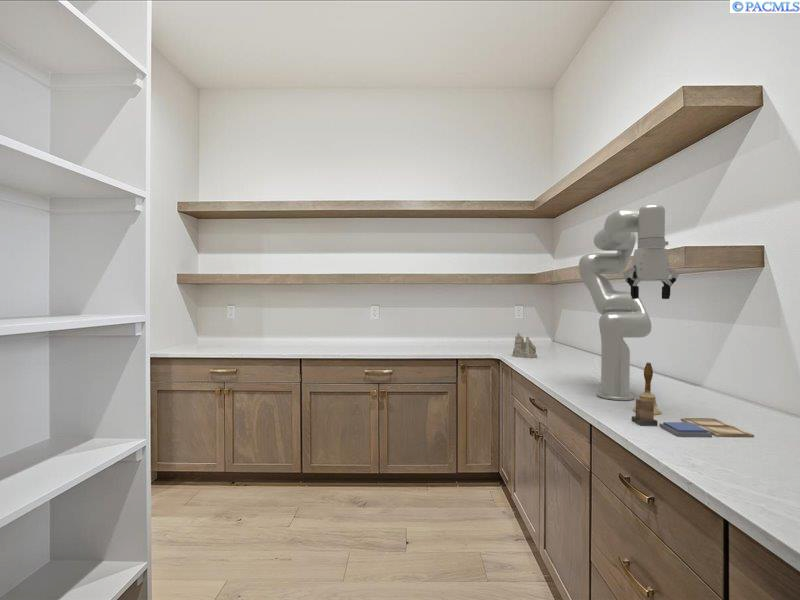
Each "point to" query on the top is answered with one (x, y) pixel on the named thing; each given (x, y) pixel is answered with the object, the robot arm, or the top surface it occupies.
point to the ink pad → (685, 429)
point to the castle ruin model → (524, 348)
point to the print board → (718, 427)
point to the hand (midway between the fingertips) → (650, 298)
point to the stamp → (644, 413)
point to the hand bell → (647, 394)
